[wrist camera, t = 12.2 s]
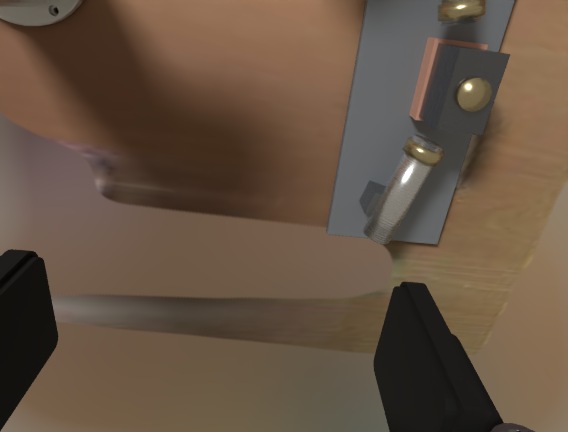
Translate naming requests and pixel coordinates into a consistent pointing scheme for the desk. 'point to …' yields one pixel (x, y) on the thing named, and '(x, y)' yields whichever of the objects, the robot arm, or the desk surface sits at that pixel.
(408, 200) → the shaft
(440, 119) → the block
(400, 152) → the base plate
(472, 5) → the shaft
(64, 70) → the desk surface
